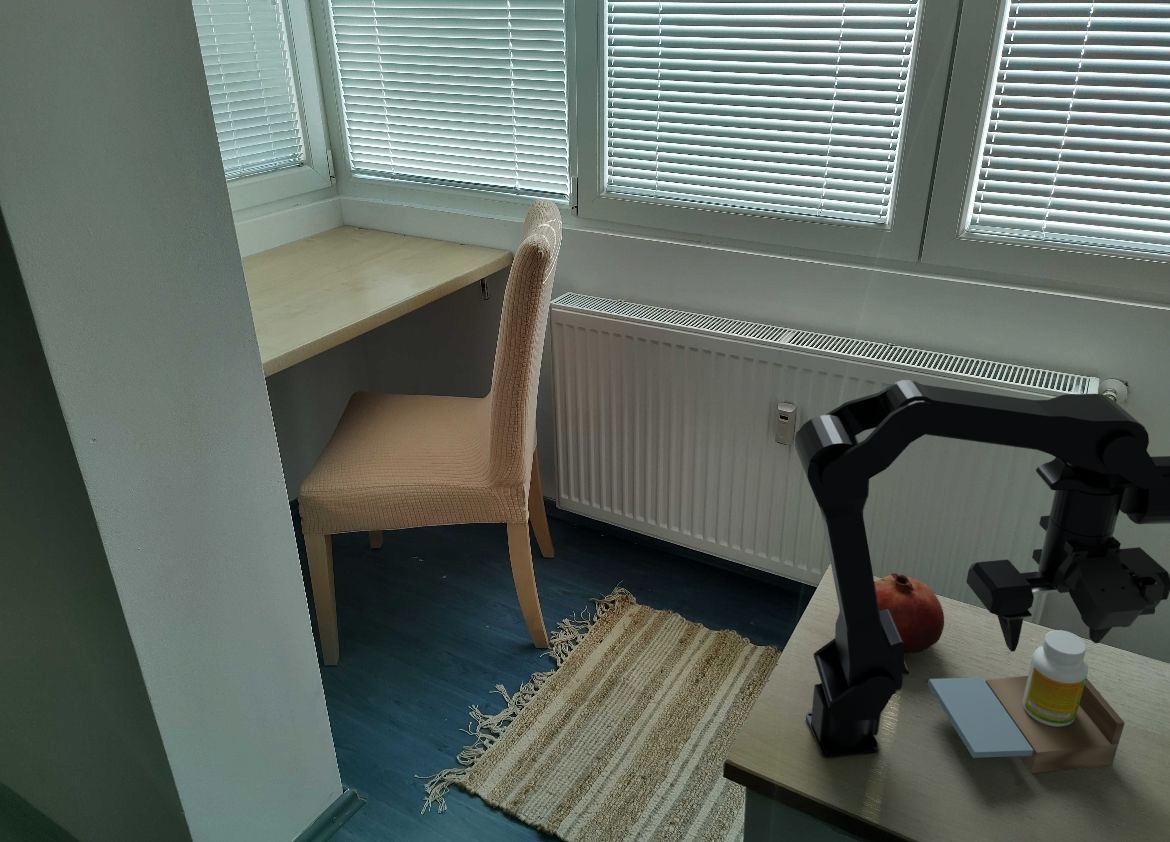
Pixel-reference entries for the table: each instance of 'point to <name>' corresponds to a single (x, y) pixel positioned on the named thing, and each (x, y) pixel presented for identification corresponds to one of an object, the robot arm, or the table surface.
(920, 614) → the fruit
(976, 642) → the table surface
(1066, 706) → the supplement bottle
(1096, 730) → the brown platform with wall
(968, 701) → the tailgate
